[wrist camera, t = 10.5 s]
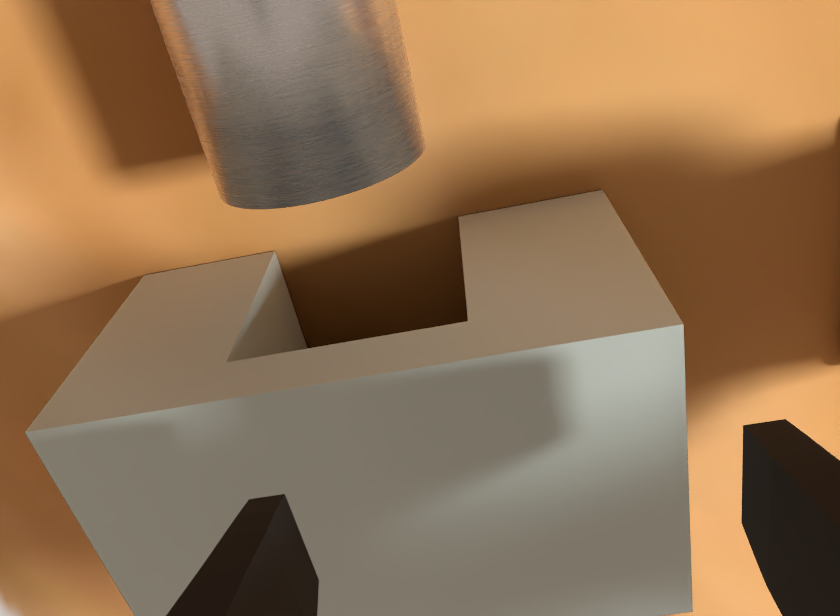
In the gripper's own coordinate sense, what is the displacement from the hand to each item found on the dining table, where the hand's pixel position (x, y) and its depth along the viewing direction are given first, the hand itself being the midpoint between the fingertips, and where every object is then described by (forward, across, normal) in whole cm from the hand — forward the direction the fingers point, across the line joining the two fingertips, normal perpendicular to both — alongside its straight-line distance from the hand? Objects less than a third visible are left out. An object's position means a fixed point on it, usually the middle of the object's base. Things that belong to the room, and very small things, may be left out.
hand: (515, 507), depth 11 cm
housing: (+10, +3, +3) cm, 11 cm away
